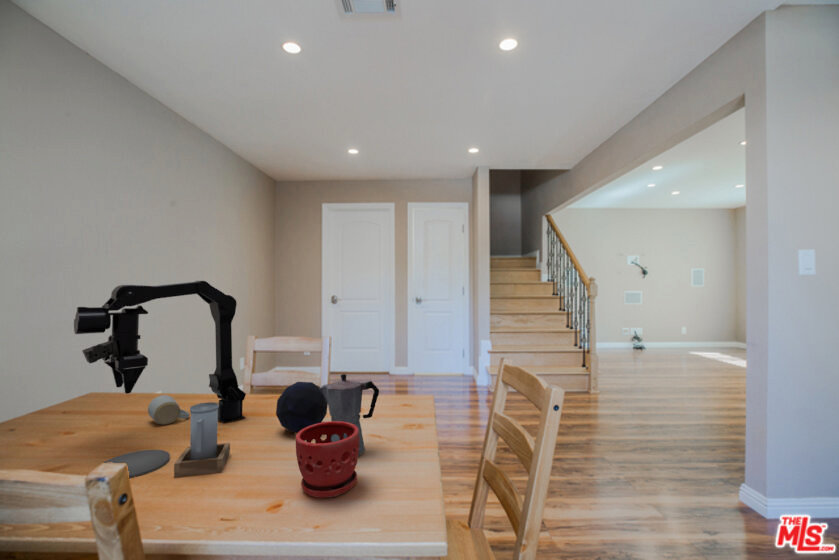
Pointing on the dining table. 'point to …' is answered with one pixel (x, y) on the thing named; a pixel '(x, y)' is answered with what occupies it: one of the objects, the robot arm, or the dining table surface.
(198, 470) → the jug holder
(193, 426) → the jug
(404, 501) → the dining table surface
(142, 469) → the rubber mat
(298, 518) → the dining table surface
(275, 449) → the dining table surface
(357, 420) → the moka pot
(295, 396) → the decorative orb
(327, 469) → the plant pot
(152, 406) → the ceramic mug
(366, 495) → the dining table surface
